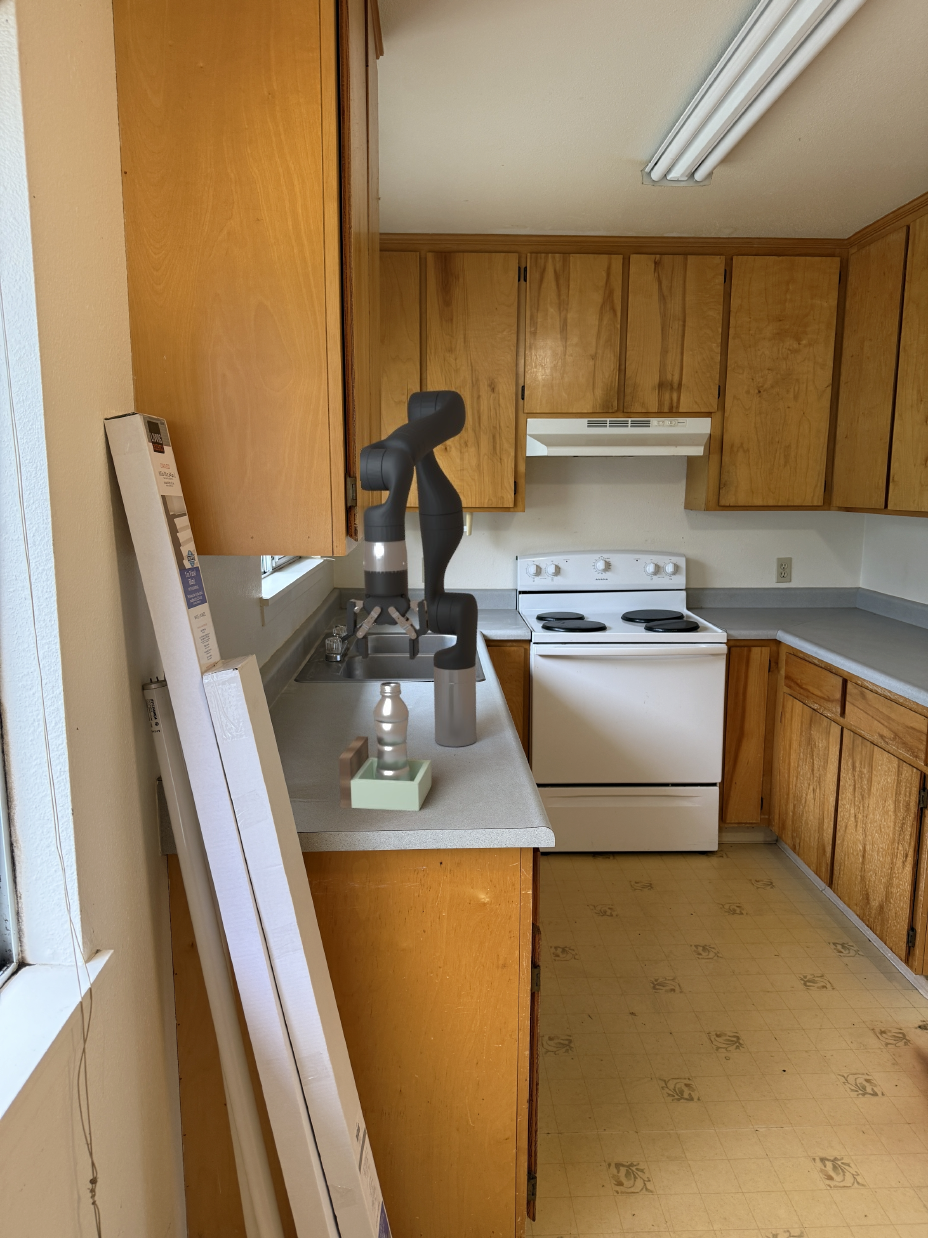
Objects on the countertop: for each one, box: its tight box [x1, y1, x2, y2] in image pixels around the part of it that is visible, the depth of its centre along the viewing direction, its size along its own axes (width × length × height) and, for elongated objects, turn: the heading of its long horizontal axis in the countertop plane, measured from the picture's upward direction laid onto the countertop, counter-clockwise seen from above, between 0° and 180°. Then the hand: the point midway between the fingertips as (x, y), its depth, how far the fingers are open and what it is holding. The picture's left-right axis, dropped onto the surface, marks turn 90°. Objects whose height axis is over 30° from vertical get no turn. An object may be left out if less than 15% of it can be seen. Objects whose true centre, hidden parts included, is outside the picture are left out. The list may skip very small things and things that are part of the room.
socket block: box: [351, 757, 432, 812], centre depth 148 cm, size 12×12×5 cm
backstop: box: [338, 735, 370, 809], centre depth 147 cm, size 12×24×10 cm, turn 82°
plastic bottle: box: [372, 680, 411, 781], centre depth 147 cm, size 6×7×20 cm
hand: (388, 658), depth 144 cm, fingers open, 8 cm apart
